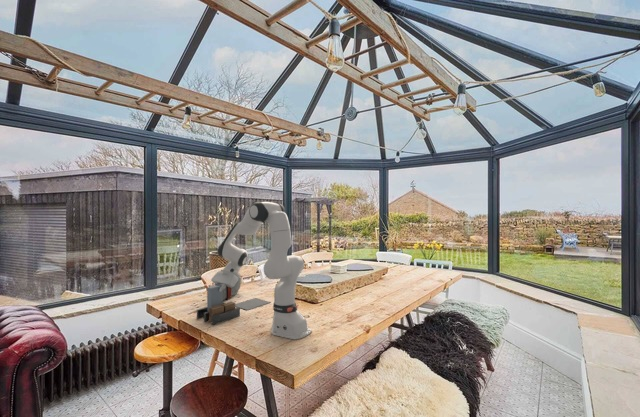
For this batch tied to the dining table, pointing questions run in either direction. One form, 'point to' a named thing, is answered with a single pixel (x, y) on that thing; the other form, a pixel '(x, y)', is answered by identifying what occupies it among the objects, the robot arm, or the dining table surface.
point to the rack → (218, 315)
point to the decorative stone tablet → (231, 290)
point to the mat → (251, 303)
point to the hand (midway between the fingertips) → (216, 290)
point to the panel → (214, 296)
